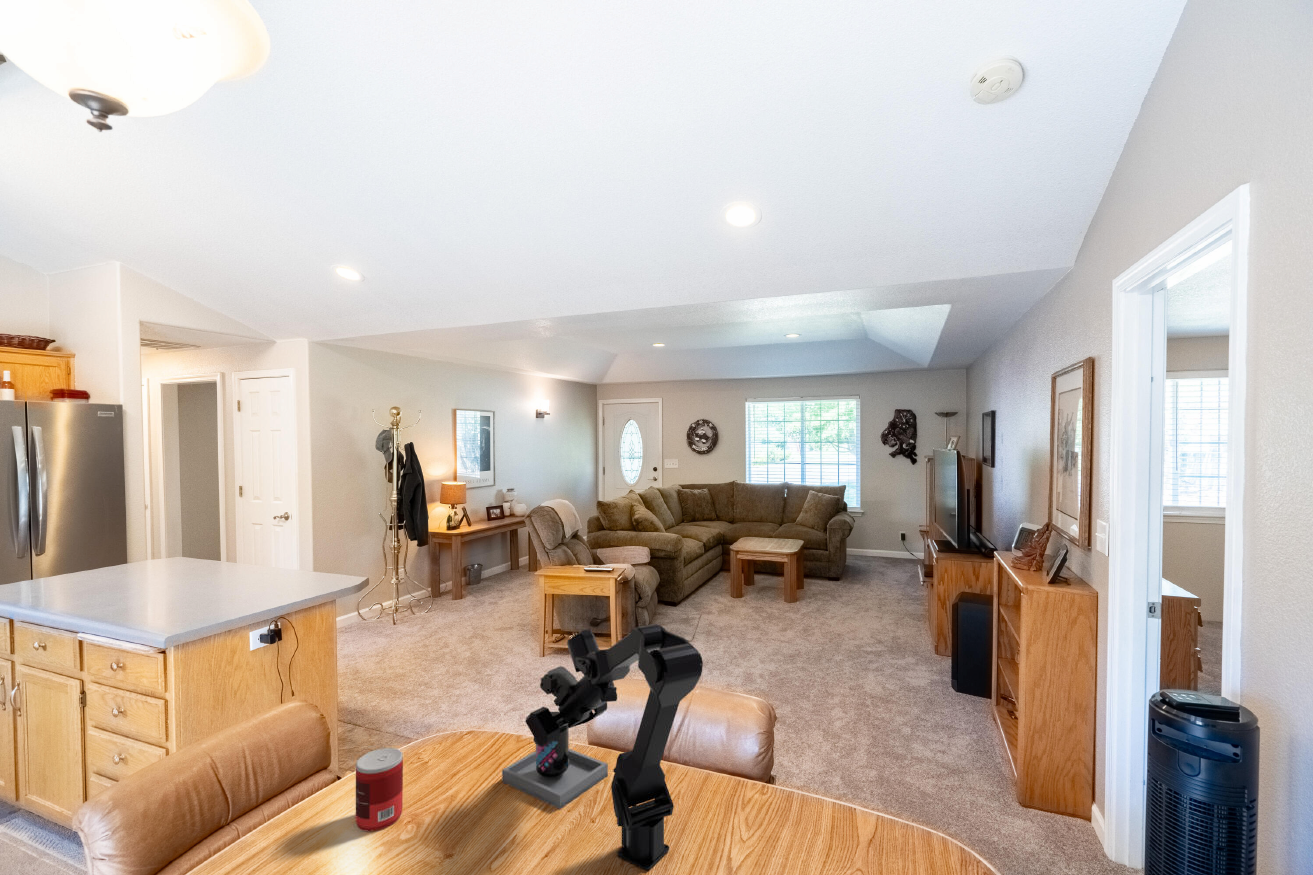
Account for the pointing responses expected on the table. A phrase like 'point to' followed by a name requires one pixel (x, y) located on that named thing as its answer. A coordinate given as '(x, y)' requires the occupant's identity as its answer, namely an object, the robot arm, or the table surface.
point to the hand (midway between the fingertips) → (547, 734)
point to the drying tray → (556, 778)
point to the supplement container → (554, 754)
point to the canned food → (379, 789)
